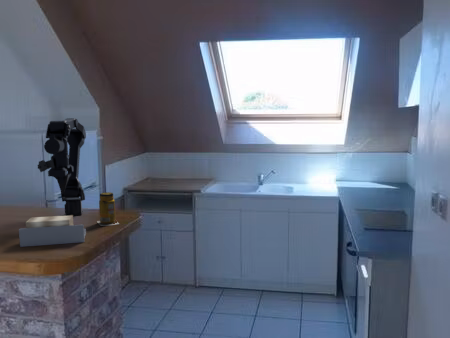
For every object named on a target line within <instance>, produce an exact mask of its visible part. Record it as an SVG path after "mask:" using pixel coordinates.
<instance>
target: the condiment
mask: <svg viewBox="0 0 450 338" xmlns="http://www.w3.org/2000/svg"><path fill="white" fill-rule="evenodd" d="M98 209H99V210H98V211H99V220H97V221H96V222H97V223H98V225H99V226H101V227H106V226H115V225H120V223H119V222H118V221H117V220H116V201H115V199H114V193H113V192H111V191H110V192H109V191H107V192H101V193H99V201H98ZM115 220H116V221H117V223H115ZM113 223H115V224H113Z"/></svg>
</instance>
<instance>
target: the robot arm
mask: <svg viewBox="0 0 450 338" xmlns="http://www.w3.org/2000/svg"><path fill="white" fill-rule="evenodd" d="M86 138H87V132H86V128H85V126H84V125H83V124H81V123H80V122H79V120H78V118H75V117H74V118H70V117H69V118H68V117H67V118H64V119H63V120H51V121H49V123H48V124H47V127H46V133H45V139H47V140H46V141H45V143H44V145H43V147H44V151H45V152H46V153H48V155H51V156H50V159H49V160H47V161H45V159H43V160H39V161H38V164H37V169H38V170H39V173H43V172H46V171H47V170H48V171H47V174H48V177H53V179H56V181H57V184H58V187H59V191H60V196H61V201H62V202H65V204H64V214H65V216H70V215H73V216H82V214H83V203H82V202H83V201H85V200H86V195H85V192H84V188H83V186H82V184H81V182H80V179H79V171H80V156H81V148H82V147H83V146H84V144H85V139H86ZM68 146H69V147H68Z"/></svg>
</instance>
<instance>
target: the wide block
mask: <svg viewBox="0 0 450 338" xmlns="http://www.w3.org/2000/svg"><path fill="white" fill-rule="evenodd" d="M66 225H74V215H70V216H66V215H54V216H36V217H35V216H33V217H30V218H29V219H28V220H27V221H26V222H25V228H36V227H51V226H66Z"/></svg>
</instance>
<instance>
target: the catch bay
mask: <svg viewBox="0 0 450 338" xmlns="http://www.w3.org/2000/svg"><path fill="white" fill-rule="evenodd" d="M84 227H85V225H84V223H83V224H82V223H81V224H73V225H66V226H51V227H36V228H26V227H24V228H23V227H21V228H19V229H18V235H19V238H18V239H19V246H20V248H22V247H35V246H37V247H38V246H49V245H59V244H60V245H61V244H76V243H85V238H86V236H87V235H86V234H87V229H86V228H84Z"/></svg>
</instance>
